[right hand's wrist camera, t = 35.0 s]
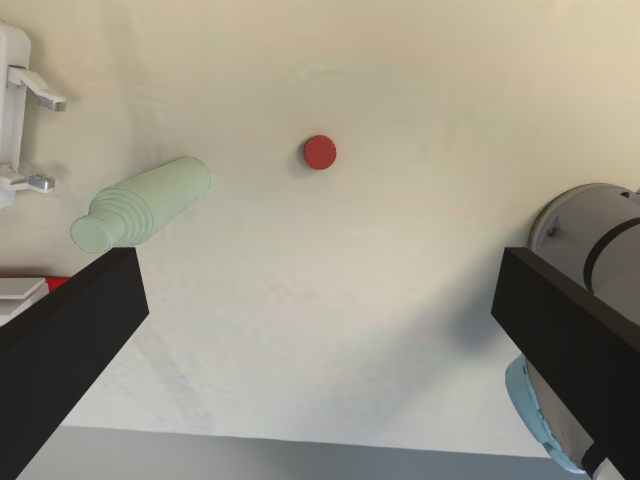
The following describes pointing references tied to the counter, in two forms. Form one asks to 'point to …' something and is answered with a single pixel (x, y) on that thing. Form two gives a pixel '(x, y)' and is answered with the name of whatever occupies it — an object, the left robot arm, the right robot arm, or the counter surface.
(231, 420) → the counter surface
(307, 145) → the cap
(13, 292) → the toy
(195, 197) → the bottle
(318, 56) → the counter surface
